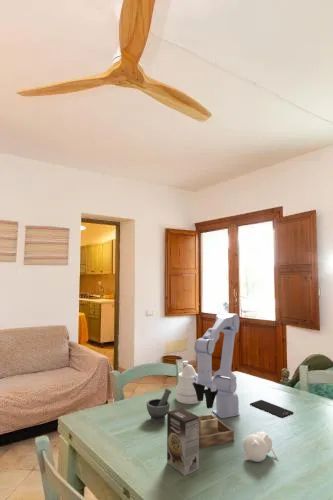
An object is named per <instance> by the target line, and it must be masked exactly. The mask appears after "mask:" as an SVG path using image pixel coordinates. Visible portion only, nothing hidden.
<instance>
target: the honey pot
mask: <svg viewBox="0 0 333 500" xmlns="http://www.w3.org/2000/svg"><path fill="white" fill-rule="evenodd" d="M182 364H183V365H184V367H183V369H182V371H181V372H179V373H178V377H179V379H178V380H177V385H176V387H175V390H176V391H175V401H177V402H179V403H182V404H188V405H189V404H190V405H191V404H192V405H193V404H199V403H200V402H201V401H198V400H197V395H196V391H195V388H194V386H193V384H192V383H194V382H195V380H194V376H196V375H198V372H196V370H195V368H194V367H193V365H192V364H189V361H188V360H183V361H182Z"/></svg>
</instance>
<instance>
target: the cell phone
mask: <svg viewBox="0 0 333 500" xmlns="http://www.w3.org/2000/svg"><path fill="white" fill-rule="evenodd" d="M251 405H252V406H251ZM249 406H251V407H253V406H254V407H253V408H256V409H258V408H259V410H261V411H263V410H264V411H263V412H266V413H268V412H269V413H268V414H270V413H271V415H272V416H275V415H276V417H278V418H280V417H281V419H284V418H286V417H289V416H291V415H293V413H294V411H292V410H290V409H286V408H284V407H281V406H279V405H276V404H273V403H271V402H269V401H265V400H263V399H259V400H257V401H253V402H251V403H249ZM290 414H291V415H290ZM288 415H289V416H288ZM285 416H286V417H285ZM283 417H284V418H283Z"/></svg>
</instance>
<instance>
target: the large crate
mask: <svg viewBox="0 0 333 500" xmlns="http://www.w3.org/2000/svg"><path fill="white" fill-rule="evenodd" d="M216 418H217V419H218V433H216V434H211V435H206V436H201V437H199V449H203V448H208V447H213V446H218V445H221V444H226V443H227V444H228V443H230V442H231V443H233V442H235V433H234V432H235V431H234V430H233V429H232V428H231V427H230V426H227V424H225V423H224V422H223V421H222V420H221V419H219V418H218V417H216Z"/></svg>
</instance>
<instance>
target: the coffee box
mask: <svg viewBox="0 0 333 500" xmlns="http://www.w3.org/2000/svg"><path fill="white" fill-rule="evenodd" d="M166 416H167V418H166V420H167V421H166V422H167V423H166V424H167V425H166V426H167V427H166V429H167V431H166V433H167V435H166V439H167V440H166V443H167V444H166V462H167V464H168V465H170V466H171V467H172V468H173V469H175V470H176V471H178V473H180V474H181V475H182V476H184V477H185V476H188V475H190V474H192V473H194V472H196V471H198V470H199V469H200V468H199V467H200V465H199V463H200V459H199V458H200V457H199V455H200V452H199V450H200V448H199V417H198V416H199V415H197V414H194V413H192V412H190V411H188V410H187V409H184V408H182V407H180V408H176V409H172V410H169V411H168V412H167V415H166Z"/></svg>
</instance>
